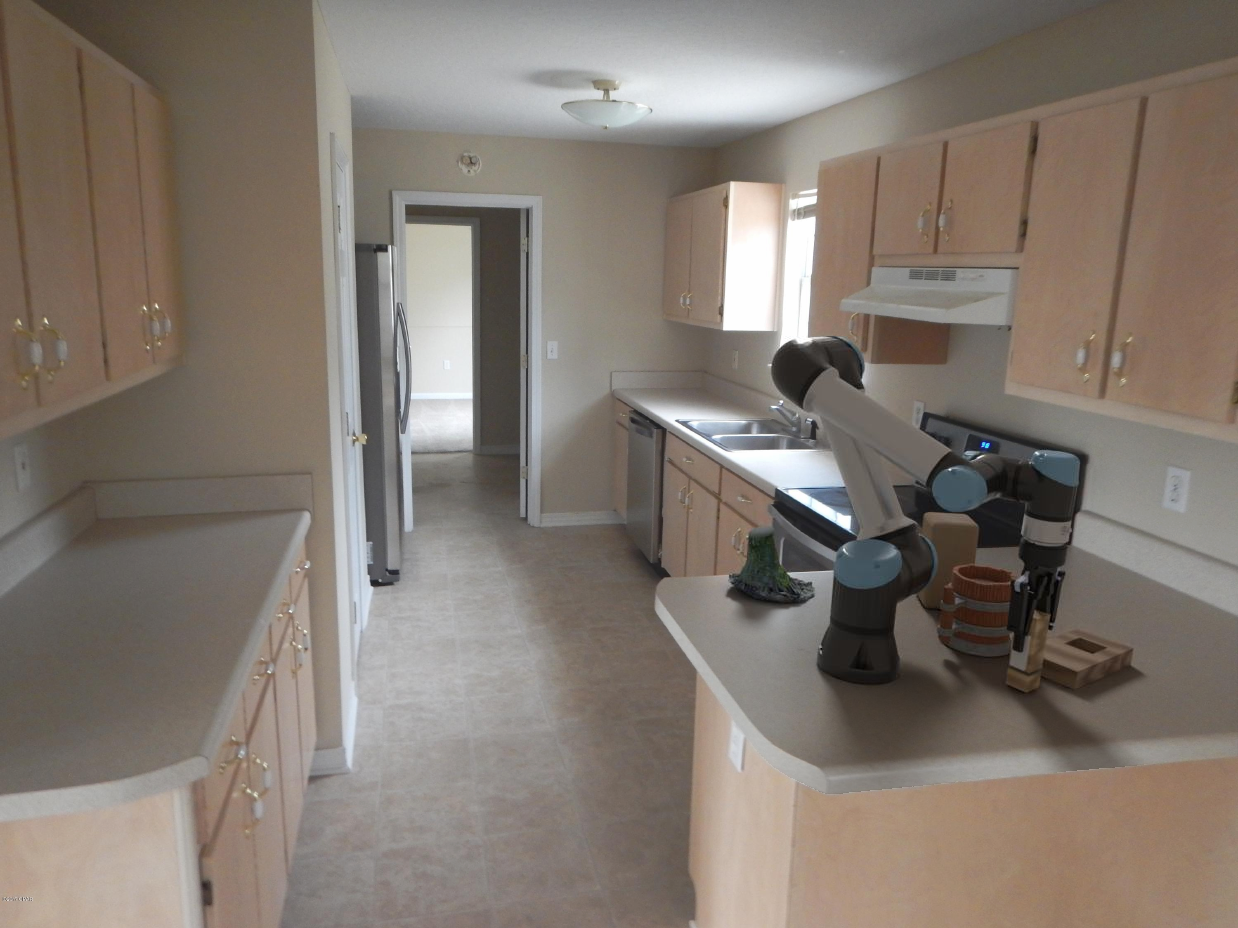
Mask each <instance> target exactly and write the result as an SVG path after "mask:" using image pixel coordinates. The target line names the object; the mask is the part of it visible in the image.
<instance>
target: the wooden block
mask: <svg viewBox="0 0 1238 928" xmlns="http://www.w3.org/2000/svg"><path fill="white" fill-rule="evenodd" d="M922 517H923V518H922V527H921V528H922V534H921V535H922V536H924V537H925V538H927V539H928V540H929V541H930V542H931V543H932V544H933V546H934V548H935V550H936V553H937V556H938V569H937V572H936V575H935V577H934V579H933V580H932V581H931V583H930V584H929V585H927V586H926V588H925V589H923V590H922V591H921V592H919V593H917V594H916V596H917V597H918V599H919V600H920V601H921V604H922V606H924V607H925V608H927V609H936V610H938V609H939V610H941V608H940V604H941V601H942V600H943V596H944V586H945V585H949V584H950V583H951V581H952V573H953V568H954V567H956V566H961V565H968V564H974V565H976V556H977V549H978V548H977V547H978V541H979V532H980V527H979V524H977V523H976V522H975V521H974V520H973V519H972V518H971V517H970V516H969V515H968V514H965V513H954V512H951V513H950V512H948V513H947V512H933V511H930V512H929V511H928V512H925V513H924V514H923V516H922Z"/></svg>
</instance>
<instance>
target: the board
mask: <svg viewBox="0 0 1238 928" xmlns="http://www.w3.org/2000/svg"><path fill="white" fill-rule="evenodd" d="M1133 654H1134V647H1131V646H1129V645H1125V644H1124V643H1119V642H1117V641H1114V640H1111V639H1108V638H1106V637H1104V636H1101V635H1097V634H1094V633H1091V632H1089V631H1086V630H1084V629H1081V628H1076V629H1073V630H1070V631H1067V632H1065V633H1063V634H1060V635H1057V636H1055V637H1054V636H1053V637H1052V638H1048V639H1046V645H1045V651H1044V657H1043V664H1042V671H1041V676H1040V677H1043V678H1045V679H1048V680H1050V681H1053V682H1055V683H1058V684H1059V685H1063V686H1065V687H1068V688H1071V689H1073V690H1077V689H1079V688H1081V687H1083V686H1087V685H1089V684H1092V683H1093V682H1095V681H1098V680H1101V679H1102V678H1105V677H1107V676H1109V675H1112V674H1113V673H1116V672H1118V671H1120V670H1123V669H1125V668H1128V667H1130V666H1131V664H1132V660H1133Z"/></svg>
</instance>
